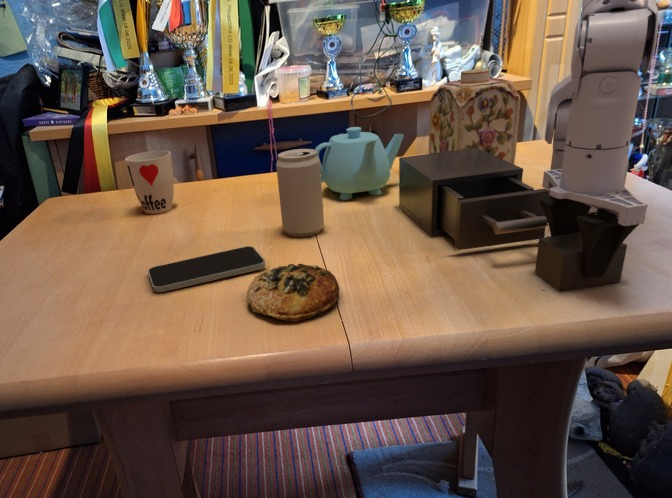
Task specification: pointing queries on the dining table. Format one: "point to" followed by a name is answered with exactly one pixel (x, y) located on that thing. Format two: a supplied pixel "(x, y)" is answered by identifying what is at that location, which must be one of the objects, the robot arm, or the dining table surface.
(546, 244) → the rectangular block
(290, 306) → the bread roll
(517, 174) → the small drawer cabinet
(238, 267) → the smartphone
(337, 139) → the teapot
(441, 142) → the decorative jar
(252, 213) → the dining table surface
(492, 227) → the dark drawer box
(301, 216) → the beverage can
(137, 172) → the cup
